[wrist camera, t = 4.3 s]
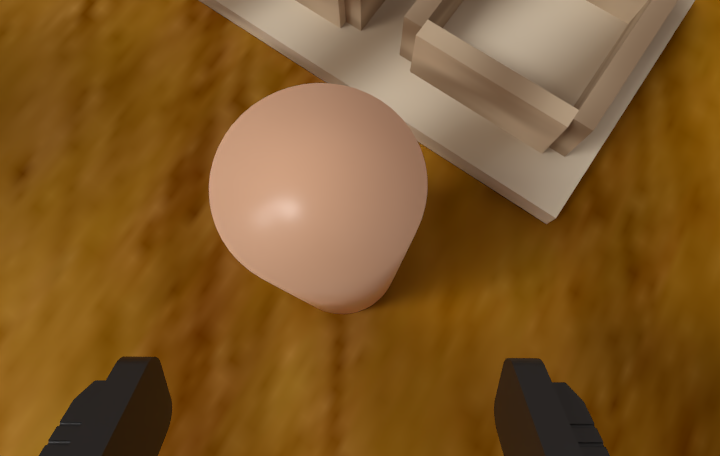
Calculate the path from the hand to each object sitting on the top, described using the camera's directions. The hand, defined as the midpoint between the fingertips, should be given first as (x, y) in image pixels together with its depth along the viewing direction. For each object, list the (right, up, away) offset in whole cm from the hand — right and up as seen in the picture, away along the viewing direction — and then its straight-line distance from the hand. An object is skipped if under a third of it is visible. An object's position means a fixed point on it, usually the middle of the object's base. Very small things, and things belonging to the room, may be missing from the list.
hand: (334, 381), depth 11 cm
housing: (+4, +14, +11) cm, 18 cm away
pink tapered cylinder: (0, +2, +8) cm, 8 cm away
